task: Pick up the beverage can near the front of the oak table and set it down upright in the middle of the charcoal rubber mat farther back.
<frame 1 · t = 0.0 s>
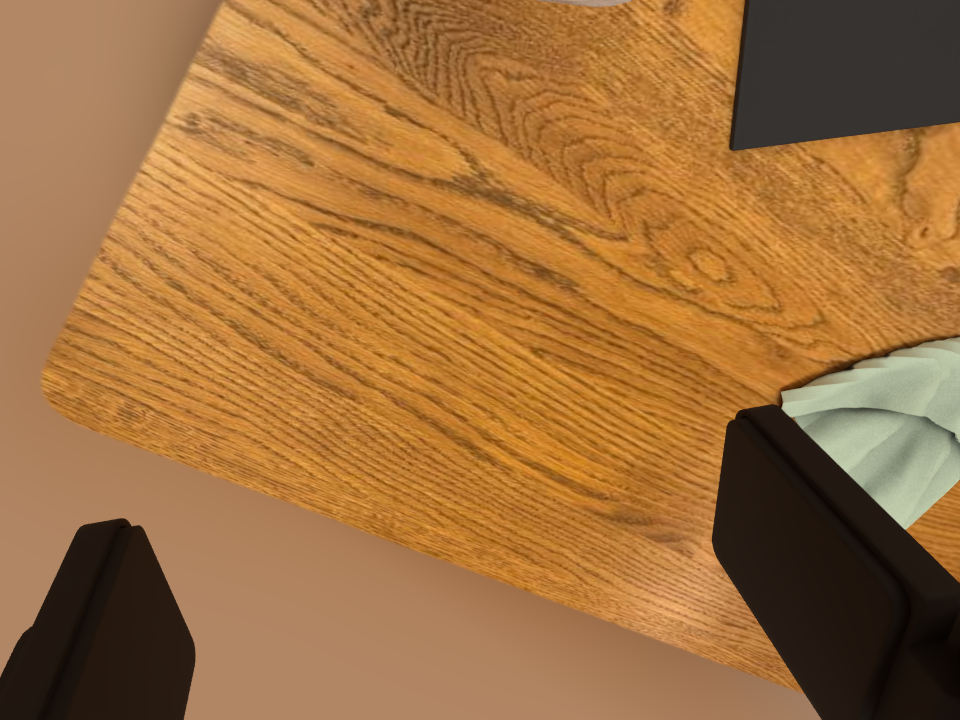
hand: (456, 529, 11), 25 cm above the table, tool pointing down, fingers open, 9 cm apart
cloth: (877, 438, 48), on the table
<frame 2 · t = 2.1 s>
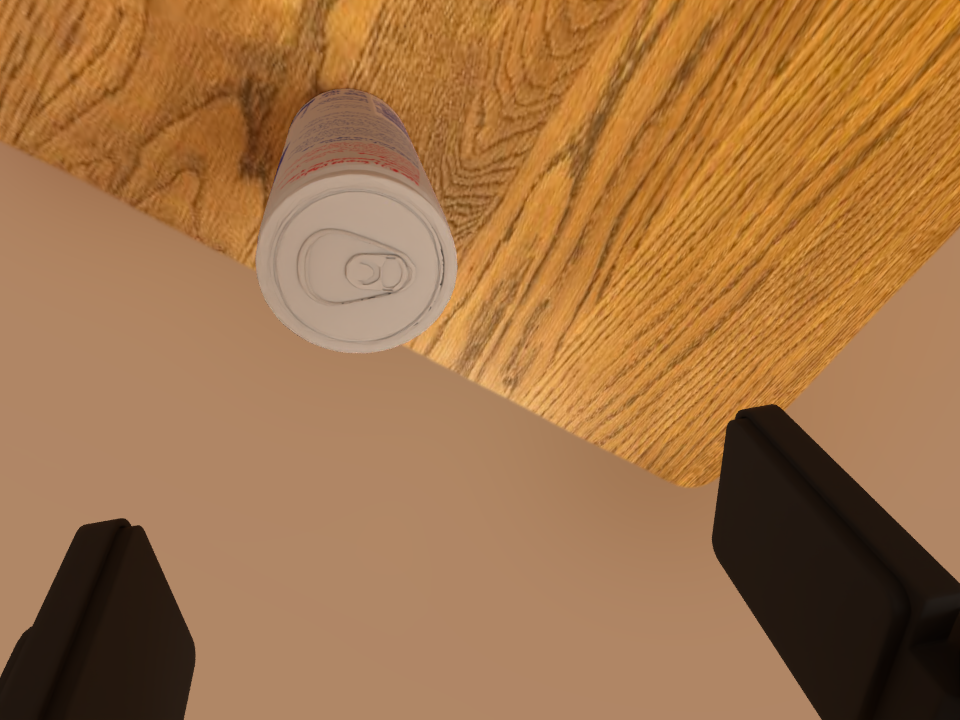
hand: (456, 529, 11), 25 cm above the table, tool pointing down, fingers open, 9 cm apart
beverage can: (349, 150, 32), on the table
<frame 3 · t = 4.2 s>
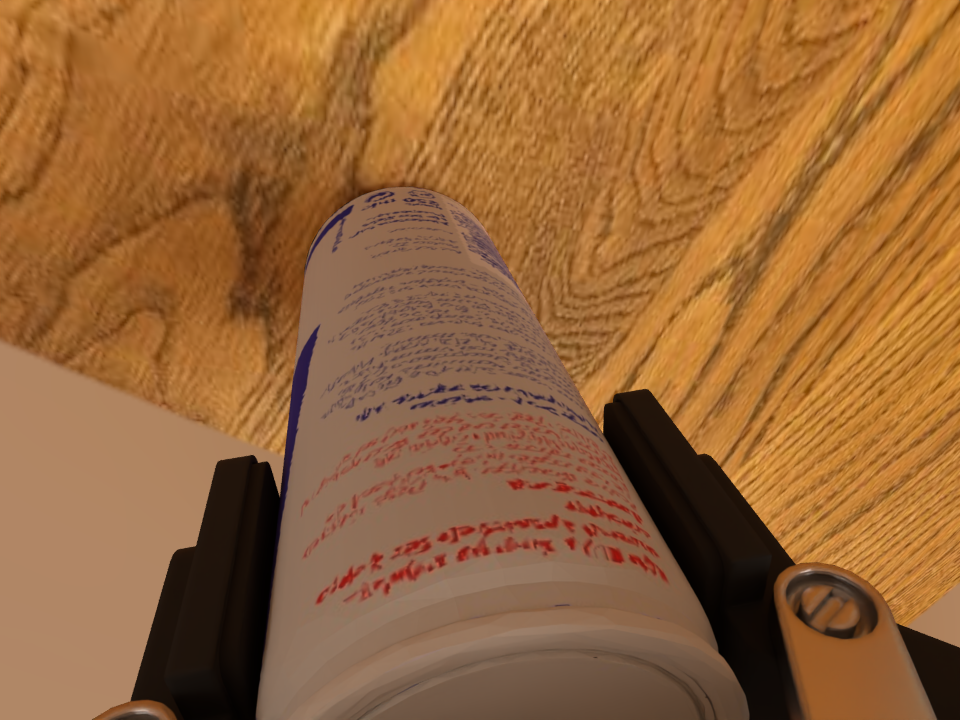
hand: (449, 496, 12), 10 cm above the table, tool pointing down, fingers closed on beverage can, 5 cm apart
beverage can: (402, 273, 20), on the table, touching gripper
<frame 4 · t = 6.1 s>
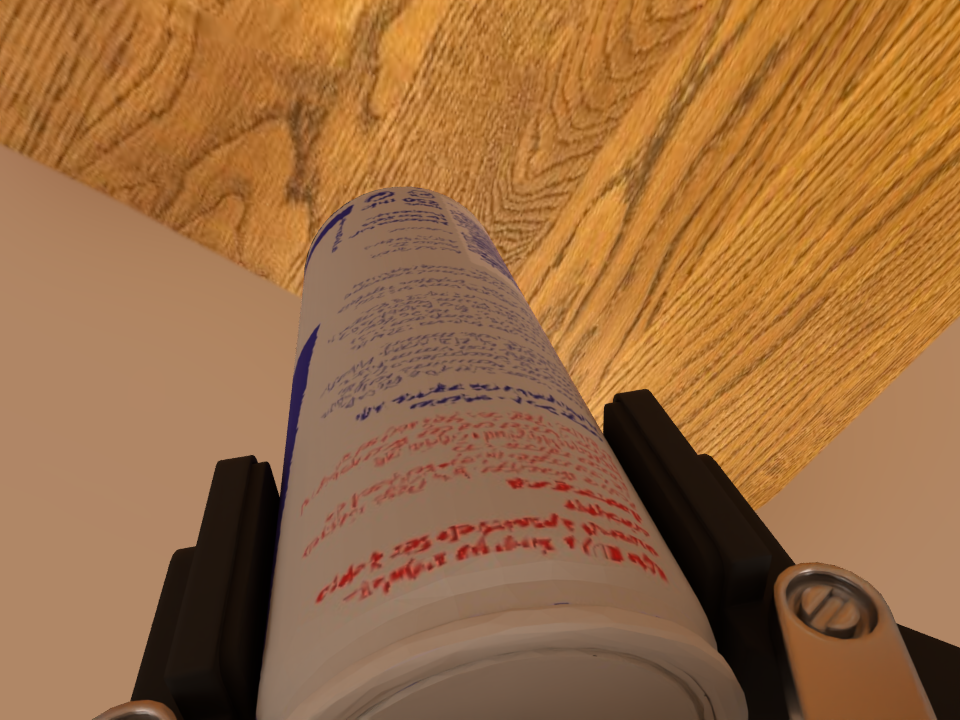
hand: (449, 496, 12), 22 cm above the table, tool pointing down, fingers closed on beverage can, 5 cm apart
beverage can: (401, 273, 20), point 12 cm above the table, touching gripper
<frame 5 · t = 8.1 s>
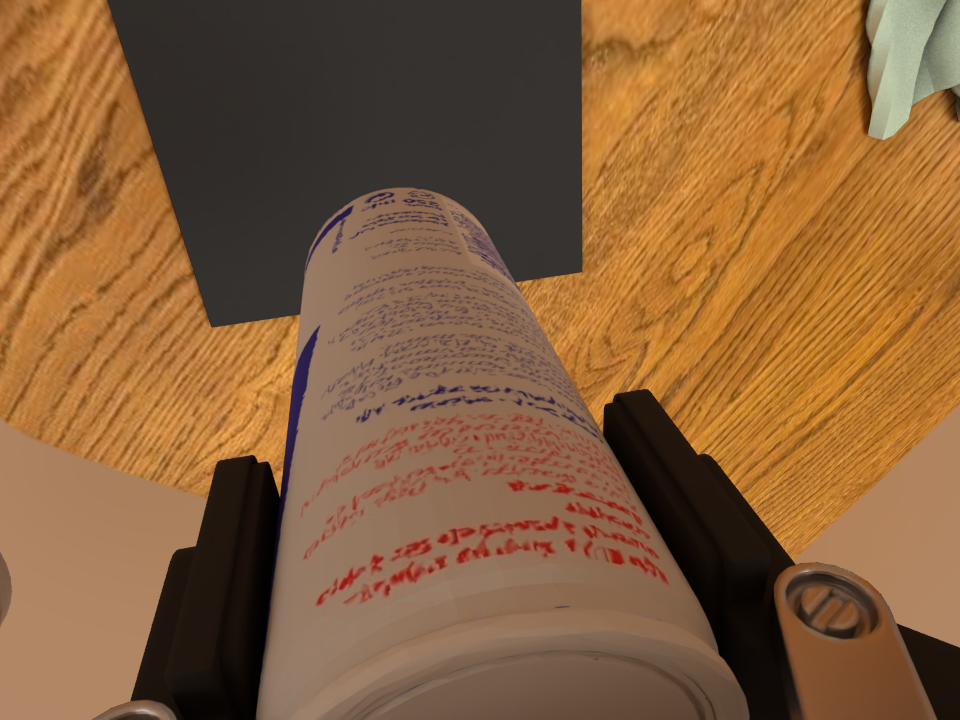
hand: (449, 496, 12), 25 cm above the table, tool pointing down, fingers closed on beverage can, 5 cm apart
mat: (372, 101, 32), on the table
beverage can: (401, 274, 20), point 15 cm above the table, touching gripper
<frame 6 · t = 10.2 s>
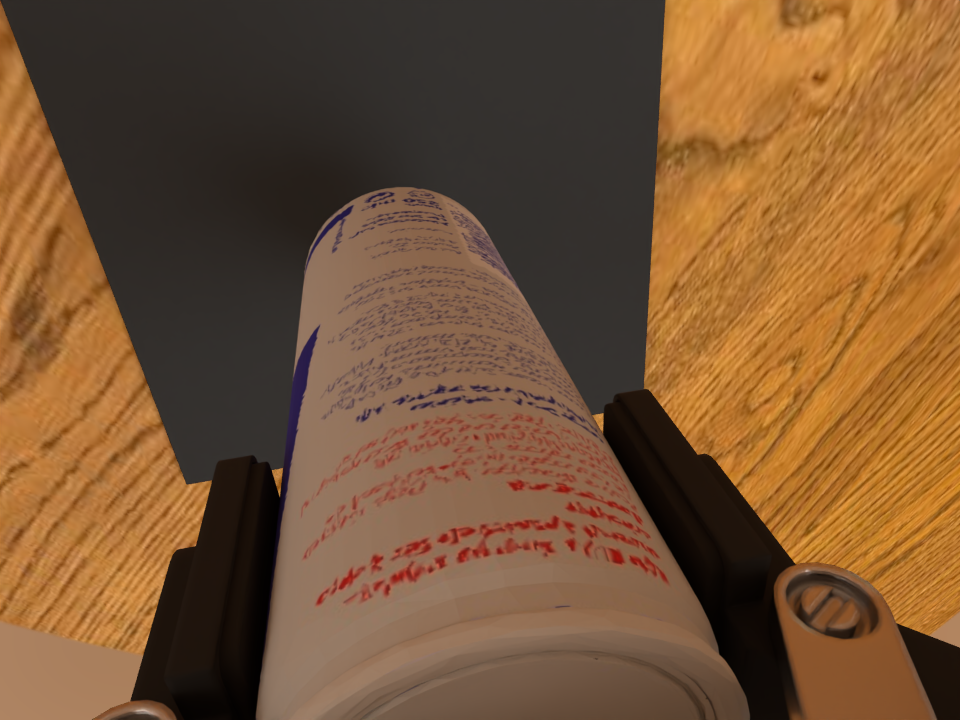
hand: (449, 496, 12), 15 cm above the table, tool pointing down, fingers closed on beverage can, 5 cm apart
mat: (390, 219, 25), on the table
beverage can: (401, 273, 20), point 5 cm above the table, touching gripper
when the fingers open (10 cm above the table, at t = 11.9 s): beverage can stays where it is, resting on mat.
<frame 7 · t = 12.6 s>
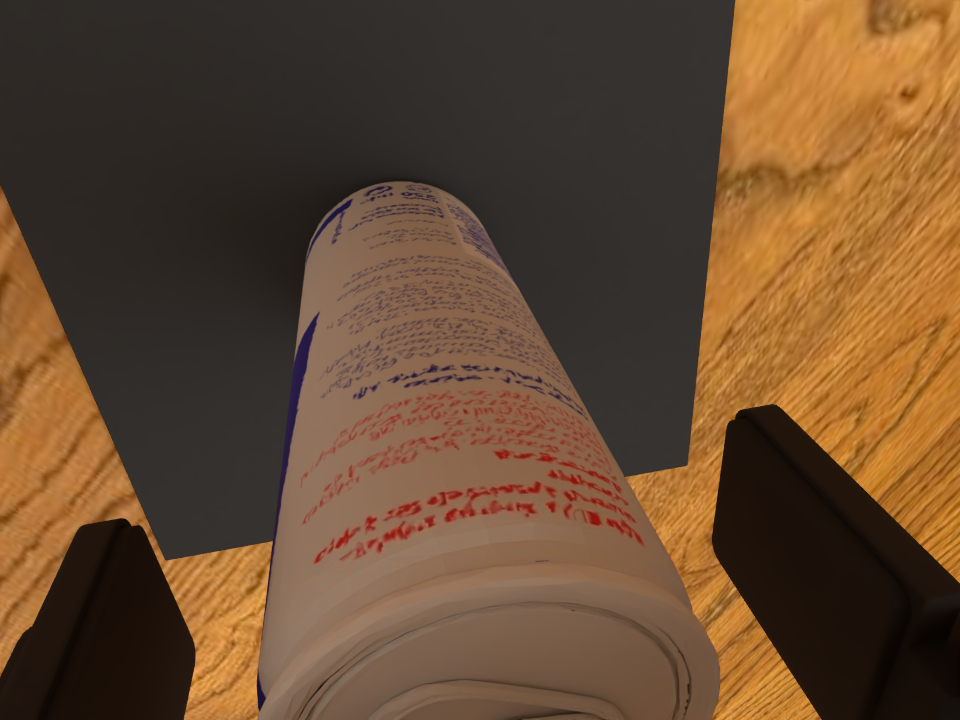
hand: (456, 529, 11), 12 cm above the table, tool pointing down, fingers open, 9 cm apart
mat: (402, 261, 21), on the table
beverage can: (400, 266, 21), resting on mat
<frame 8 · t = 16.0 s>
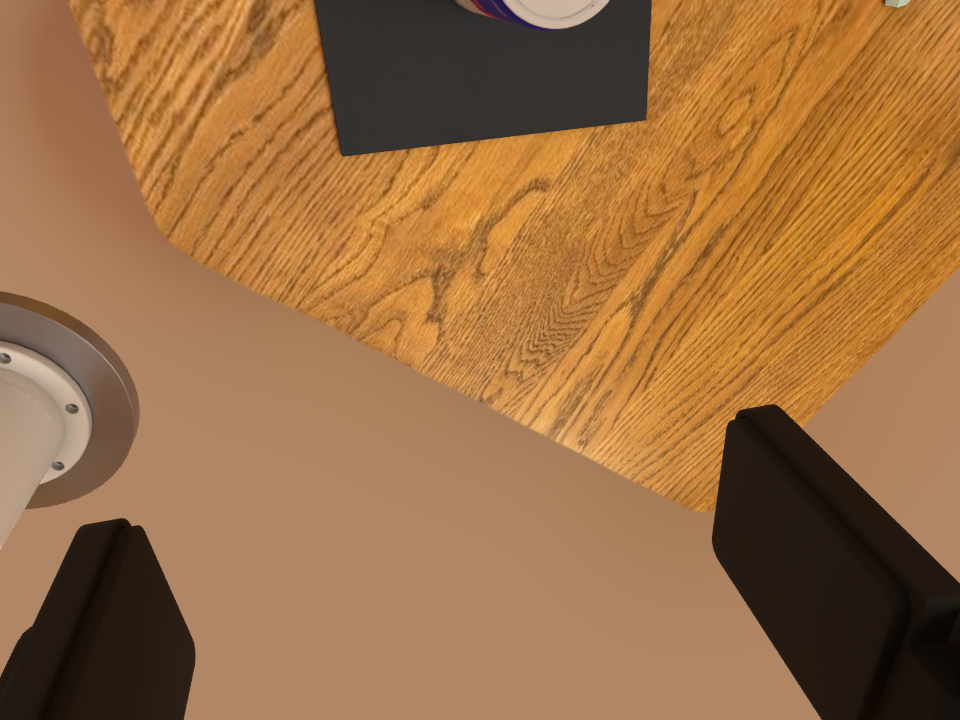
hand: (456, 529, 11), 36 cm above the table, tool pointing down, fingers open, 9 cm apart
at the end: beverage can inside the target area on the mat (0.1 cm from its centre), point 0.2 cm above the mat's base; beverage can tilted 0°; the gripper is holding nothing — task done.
